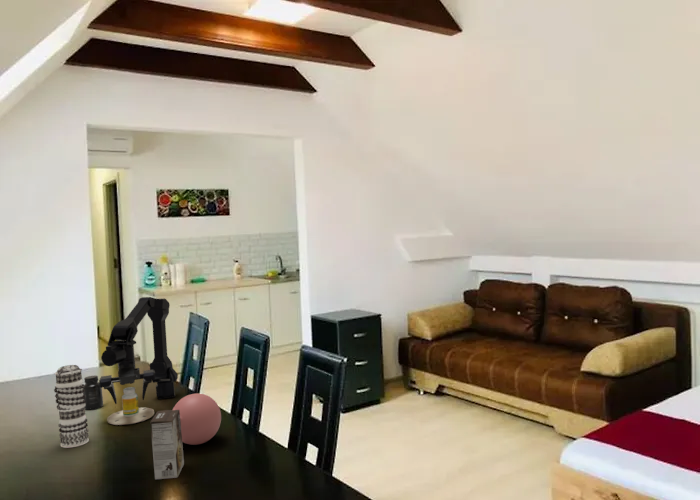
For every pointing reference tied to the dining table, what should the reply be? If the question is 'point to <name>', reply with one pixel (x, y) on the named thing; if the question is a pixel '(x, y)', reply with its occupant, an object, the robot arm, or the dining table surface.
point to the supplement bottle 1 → (92, 393)
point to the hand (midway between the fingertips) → (129, 401)
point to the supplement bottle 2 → (130, 402)
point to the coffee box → (167, 444)
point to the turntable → (122, 420)
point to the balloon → (198, 418)
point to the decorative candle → (71, 406)
